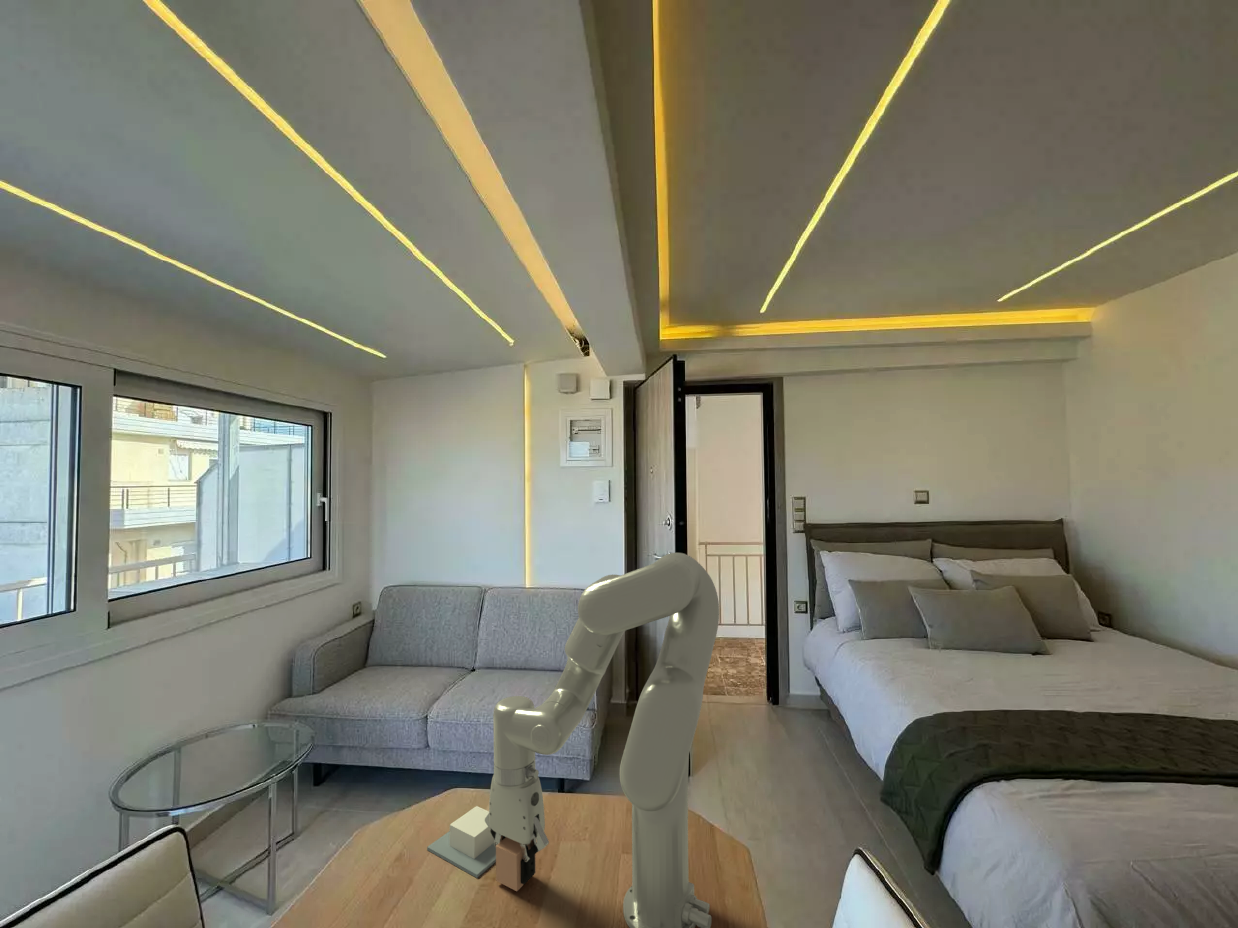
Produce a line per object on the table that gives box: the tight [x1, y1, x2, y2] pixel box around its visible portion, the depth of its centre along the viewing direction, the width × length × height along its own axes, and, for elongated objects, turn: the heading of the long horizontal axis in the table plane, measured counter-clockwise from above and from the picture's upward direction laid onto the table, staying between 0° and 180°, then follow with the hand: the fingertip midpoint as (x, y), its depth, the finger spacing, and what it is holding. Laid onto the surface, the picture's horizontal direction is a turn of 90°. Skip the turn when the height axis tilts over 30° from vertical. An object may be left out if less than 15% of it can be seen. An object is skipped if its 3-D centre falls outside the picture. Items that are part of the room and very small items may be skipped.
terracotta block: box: [495, 837, 537, 892], centre depth 91 cm, size 5×5×6 cm
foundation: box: [426, 805, 496, 879], centre depth 100 cm, size 14×12×5 cm
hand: (516, 871), depth 91 cm, fingers closed on terracotta block, 5 cm apart
